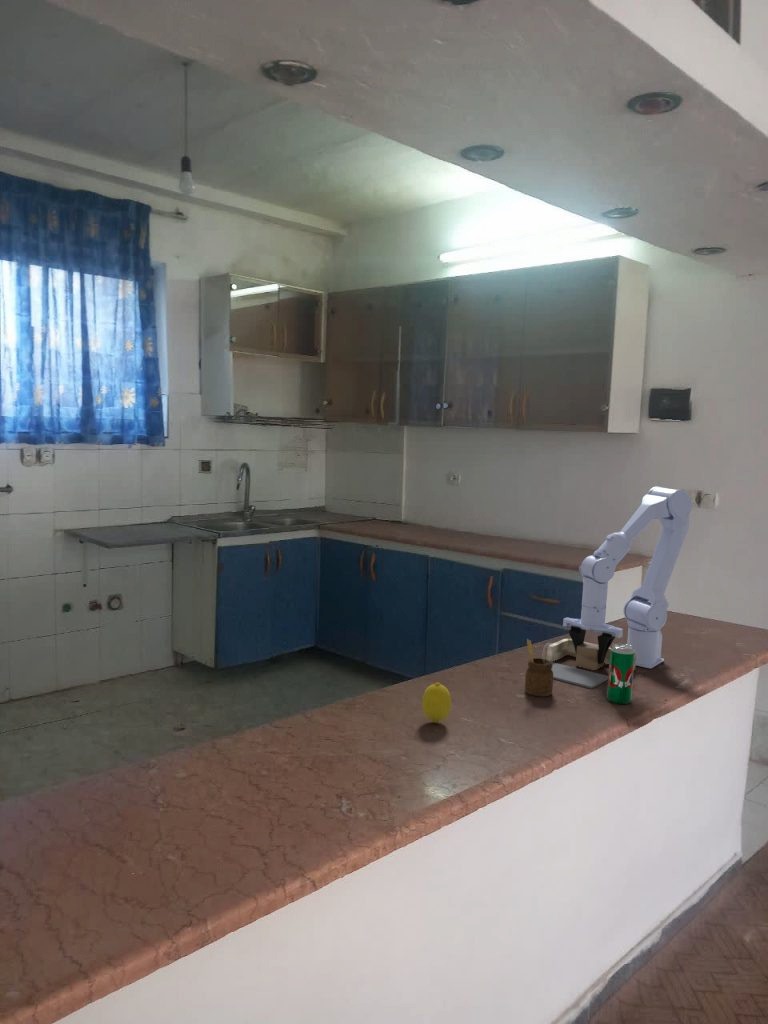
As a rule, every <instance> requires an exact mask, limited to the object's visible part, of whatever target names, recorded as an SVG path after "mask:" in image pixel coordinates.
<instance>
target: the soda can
mask: <svg viewBox="0 0 768 1024" xmlns="http://www.w3.org/2000/svg"><path fill="white" fill-rule="evenodd" d="M611 646H612V647H610V648H611V649H610V660H609V665H608V674H607V676H608V680H607V685H606V686H607V687H606V688H607V689H606V698H607V700H608V701H609V702H610V703H612V704H617V705H627V704H629V703H630V702H631V701H632V694H633V684H634V672H635V670H634V660H635V652H634V650H633V649H634V647H633V646H630V645H627V643H613V644H611Z"/></svg>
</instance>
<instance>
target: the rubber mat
mask: <svg viewBox="0 0 768 1024" xmlns="http://www.w3.org/2000/svg"><path fill="white" fill-rule="evenodd" d="M552 671H553V680H557V681H560V682H565V683H567V684H572V685H576V686H578V687H579V686H580V687H582V688H587V689H590V690H591V689H594V688H596V687H597V686H599V685H601V684H603V683H604V682H607V681H608V675H605V674H603V673H597V672H594V671H591V670H585V669H583V668H577V667H573V666H571V665H570V666H568V665H565V664H560V663H557V662H552Z"/></svg>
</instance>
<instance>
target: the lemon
mask: <svg viewBox="0 0 768 1024" xmlns="http://www.w3.org/2000/svg"><path fill="white" fill-rule="evenodd" d="M421 703H422V704H421V705H422V707H421V708H422V711H423V713H424V715H425V717H427V718H428V719H429V720H431V721H432V722H433V723H434V724H437V723H438V722H439V721H443V720H444V719H445V718H447V717H448V715H449V714H450V711H451V707H452V699H451V694H450V691H449V690H448V688H447V687H446V686H445V685H443V684H441V683H440V682H435V683H433V684H431V685H429V686H428V687H427V688H425V691H424V692H423V696H422V701H421Z"/></svg>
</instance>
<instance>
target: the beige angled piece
mask: <svg viewBox="0 0 768 1024" xmlns="http://www.w3.org/2000/svg"><path fill="white" fill-rule="evenodd" d="M585 642H586V641H584V643H585ZM552 644H553V645H554V649H553V645H551V644H550V645H549V644H548V645H547V651H548V652H547V653H546V655H547V656H546V659H547V658H548V659H547V660H550V661H551V662H553V661H554V662H555V660H556V661H557V660H560V659H563V658H564V656H565V657H566V655H567V656H569V655H570V657H574V658H576V652H575V648H574V644H573V641H572V639H571V638H568V637H565V638H563V639H561V640H558V641H556V642H553V643H552ZM550 646H551V647H550ZM548 647H549V648H548ZM611 648H612V647H609V649H608V651H607V654H606V657H605V660H604V663H605V664H604V665H607V664H609V660H610V649H611ZM549 650H550V651H549ZM551 651H552V652H551ZM552 653H554V654H552ZM548 654H549V655H548ZM551 656H553V657H551ZM549 658H552V659H549ZM554 662H553V663H554ZM636 666H637V665H636V653H635V660H634V671H635V670H636V668H637V667H636Z"/></svg>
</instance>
